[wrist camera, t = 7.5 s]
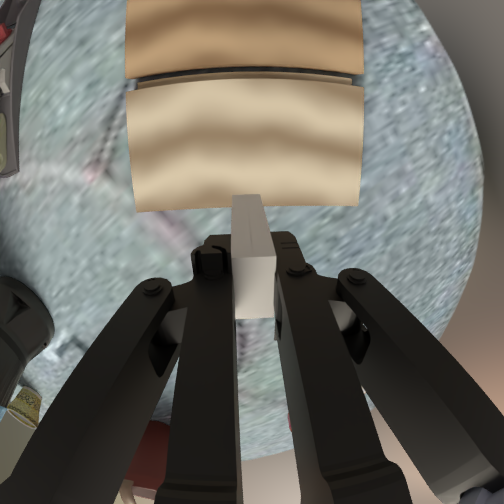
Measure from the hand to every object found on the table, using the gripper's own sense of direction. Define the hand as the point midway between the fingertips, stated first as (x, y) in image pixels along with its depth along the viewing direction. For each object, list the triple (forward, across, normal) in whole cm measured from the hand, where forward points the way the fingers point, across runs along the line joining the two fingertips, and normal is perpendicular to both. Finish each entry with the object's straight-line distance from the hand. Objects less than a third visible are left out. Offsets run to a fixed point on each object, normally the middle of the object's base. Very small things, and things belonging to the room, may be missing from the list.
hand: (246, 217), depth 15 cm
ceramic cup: (+15, +63, +53) cm, 84 cm away
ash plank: (+13, -1, -3) cm, 13 cm away
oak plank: (+13, 0, -15) cm, 20 cm away
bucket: (+14, +25, +62) cm, 69 cm away
